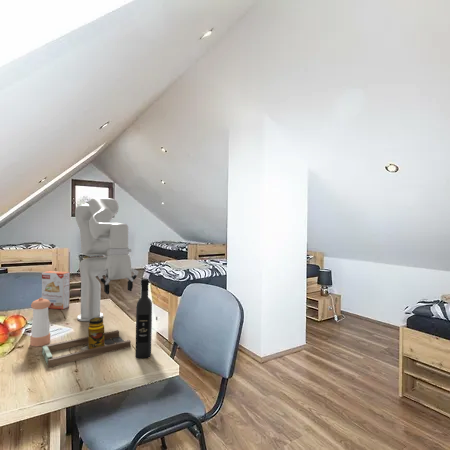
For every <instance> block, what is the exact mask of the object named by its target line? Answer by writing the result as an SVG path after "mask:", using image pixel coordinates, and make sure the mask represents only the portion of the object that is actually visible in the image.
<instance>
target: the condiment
mask: <svg viewBox="0 0 450 450" xmlns="http://www.w3.org/2000/svg"><path fill="white" fill-rule="evenodd" d="M88 325H89V326H88V328H87V331H88V332H87V335H88V336H87V337H88V344H86V346H84V347H81V348H80V350H81V351H84V350H88V349H92V348H97V347H101V346H105V345H106V344H105V343H104V333H105V325H104V319H103V317H102V318H100V317H97V318H92V319H90V320H89V321H88Z"/></svg>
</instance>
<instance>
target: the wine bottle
mask: <svg viewBox="0 0 450 450" xmlns="http://www.w3.org/2000/svg"><path fill="white" fill-rule="evenodd" d="M149 281H150V280H149V278H140V298H139V299H138V300H137V302H136V307H135V353H134V356H135V357H134V358H135V359H150V358H151V355H152V332H153V331H152V328H153V326H152V325H153V323H152V322H153V301H152V300H151V298H150V297H149V284H150V282H149Z"/></svg>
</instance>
